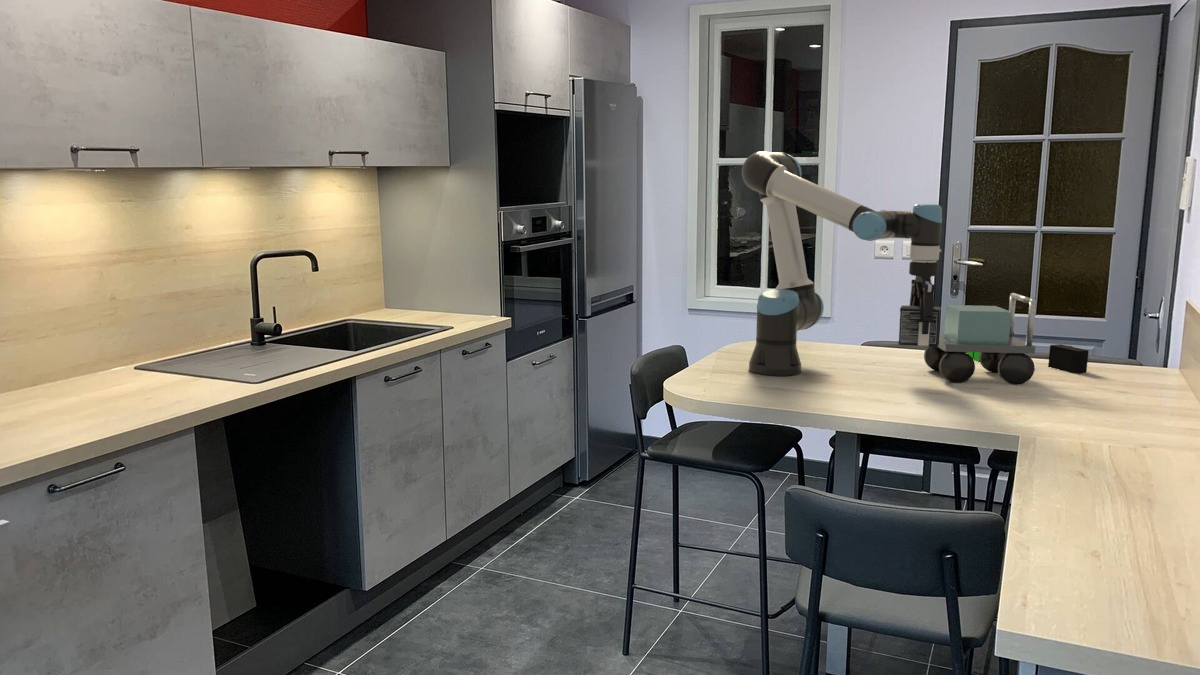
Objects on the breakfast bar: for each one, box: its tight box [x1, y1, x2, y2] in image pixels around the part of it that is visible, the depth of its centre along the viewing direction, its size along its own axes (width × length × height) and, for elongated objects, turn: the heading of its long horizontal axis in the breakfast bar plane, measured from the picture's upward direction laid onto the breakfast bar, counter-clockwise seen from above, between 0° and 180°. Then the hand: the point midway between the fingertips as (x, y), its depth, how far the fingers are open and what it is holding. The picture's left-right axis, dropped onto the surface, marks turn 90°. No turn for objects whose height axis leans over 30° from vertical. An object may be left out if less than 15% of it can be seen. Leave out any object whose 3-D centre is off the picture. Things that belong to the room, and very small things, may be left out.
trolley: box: [923, 292, 1037, 386], centre depth 252 cm, size 25×18×24 cm
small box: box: [897, 305, 942, 347], centre depth 245 cm, size 11×6×10 cm, turn 67°
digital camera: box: [1047, 343, 1090, 375], centre depth 265 cm, size 10×5×7 cm, turn 18°
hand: (918, 342), depth 246 cm, fingers closed on small box, 8 cm apart
